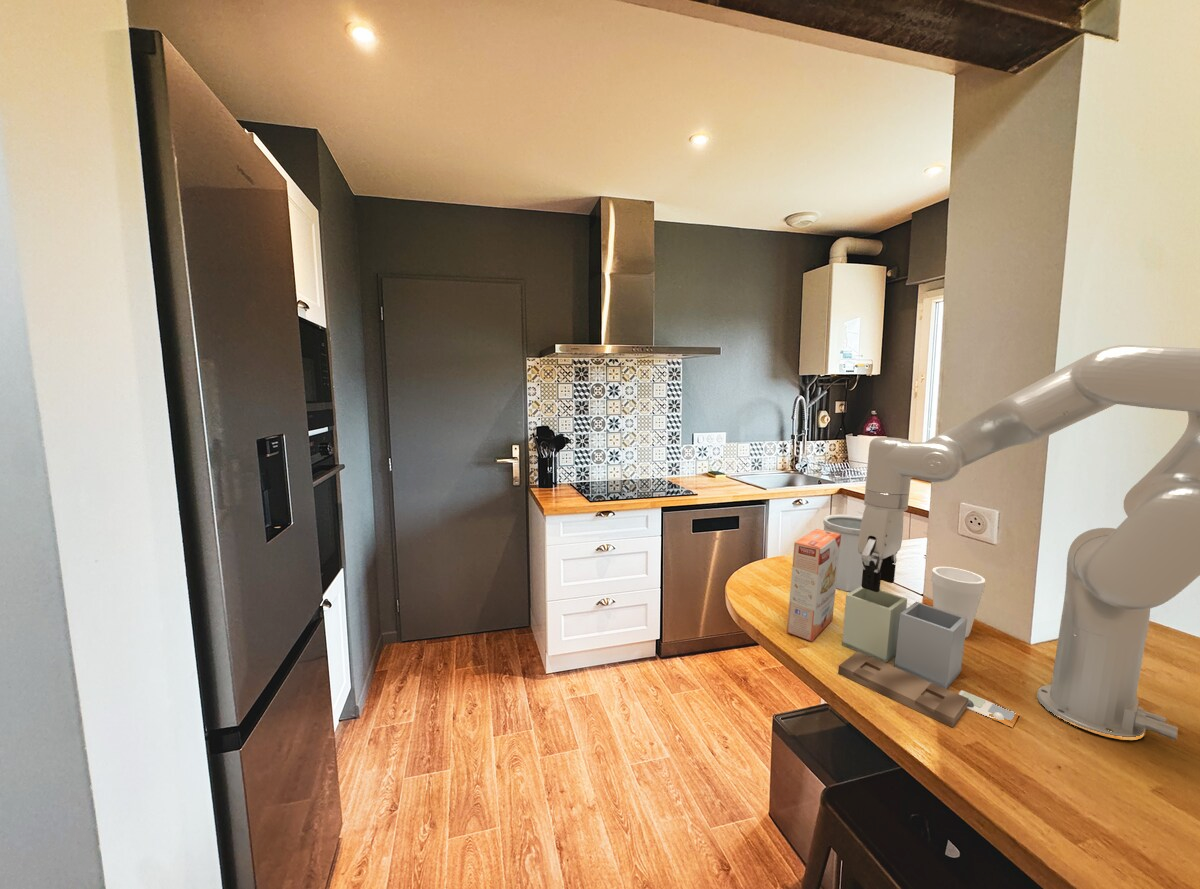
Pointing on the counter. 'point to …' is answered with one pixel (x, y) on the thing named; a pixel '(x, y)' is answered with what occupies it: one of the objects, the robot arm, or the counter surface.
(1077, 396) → the robot arm
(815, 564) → the cracker box
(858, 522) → the utensil holder
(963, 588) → the foam cup
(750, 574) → the counter surface
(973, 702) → the card
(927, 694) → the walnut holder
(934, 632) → the slate pot
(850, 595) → the sage pot
